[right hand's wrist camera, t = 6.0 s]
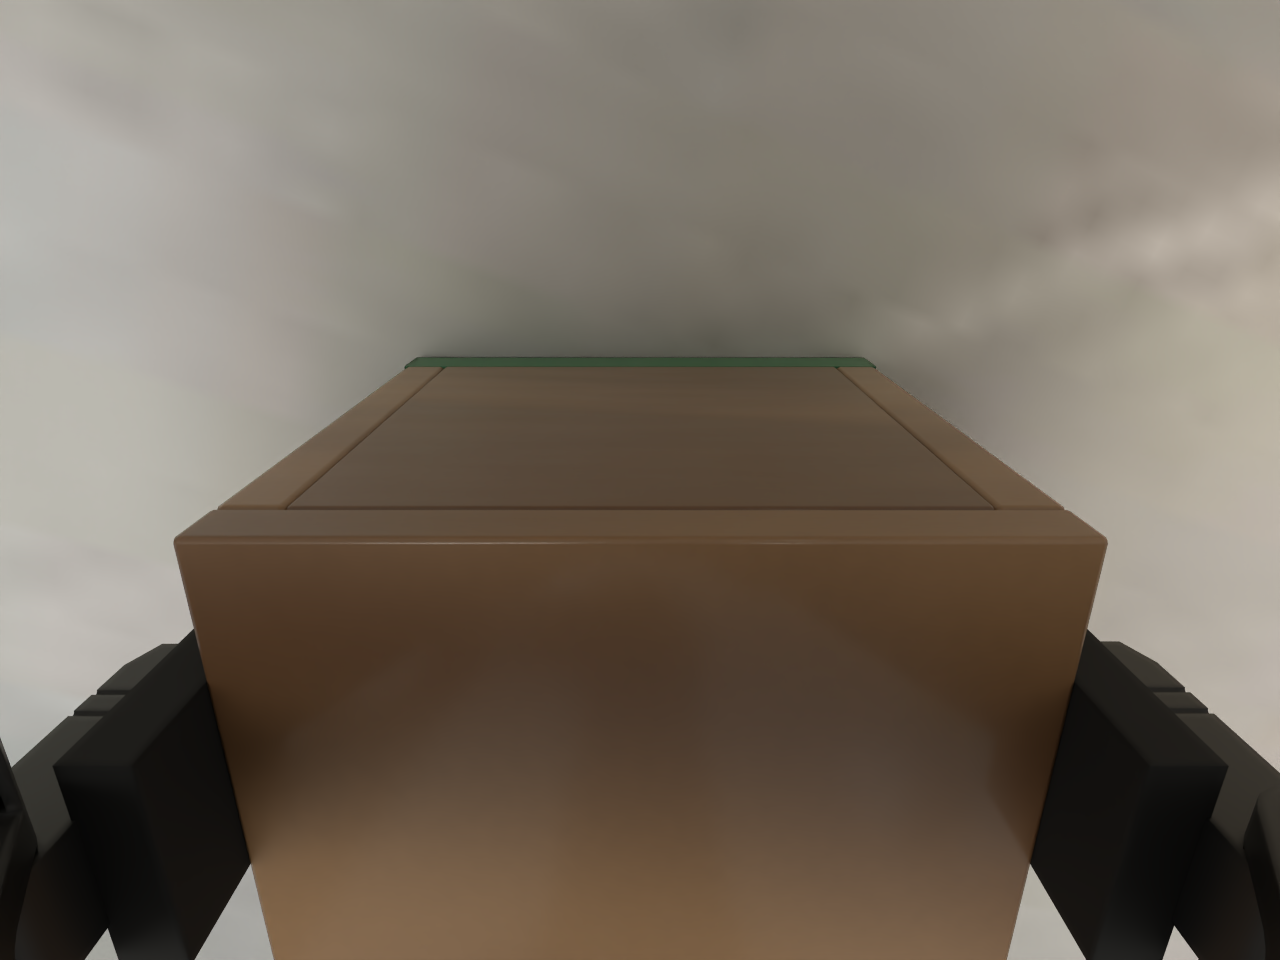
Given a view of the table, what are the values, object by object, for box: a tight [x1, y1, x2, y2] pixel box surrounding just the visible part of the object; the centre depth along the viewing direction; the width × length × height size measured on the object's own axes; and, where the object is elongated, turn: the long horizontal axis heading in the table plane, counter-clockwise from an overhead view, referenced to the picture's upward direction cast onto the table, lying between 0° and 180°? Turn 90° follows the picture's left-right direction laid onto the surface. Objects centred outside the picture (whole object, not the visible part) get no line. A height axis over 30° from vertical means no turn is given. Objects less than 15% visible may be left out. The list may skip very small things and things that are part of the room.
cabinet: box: [174, 358, 1108, 960], centre depth 16 cm, size 21×10×9 cm, turn 0°
